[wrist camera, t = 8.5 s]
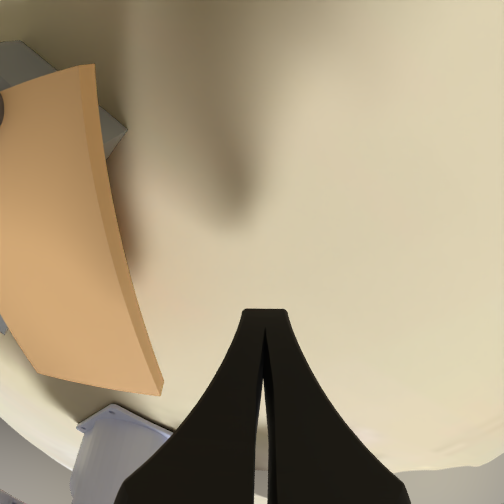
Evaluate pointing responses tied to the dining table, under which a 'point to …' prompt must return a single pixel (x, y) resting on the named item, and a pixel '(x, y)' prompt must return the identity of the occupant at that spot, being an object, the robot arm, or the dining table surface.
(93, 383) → the cover
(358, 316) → the dining table surface
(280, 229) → the dining table surface
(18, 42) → the grey angled bars
